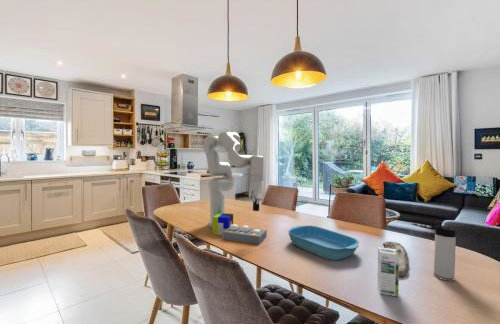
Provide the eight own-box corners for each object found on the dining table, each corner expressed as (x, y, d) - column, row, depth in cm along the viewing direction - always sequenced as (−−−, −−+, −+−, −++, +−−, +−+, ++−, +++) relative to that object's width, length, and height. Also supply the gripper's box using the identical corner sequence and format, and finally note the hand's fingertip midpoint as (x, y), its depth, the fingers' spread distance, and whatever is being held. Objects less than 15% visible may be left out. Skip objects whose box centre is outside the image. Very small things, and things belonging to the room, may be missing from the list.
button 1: (231, 229, 145) (231, 223, 145) (238, 230, 143) (238, 224, 143) (228, 231, 141) (228, 225, 141) (235, 232, 139) (235, 226, 139)
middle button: (242, 231, 142) (242, 225, 142) (249, 231, 141) (249, 225, 141) (239, 233, 138) (239, 227, 138) (247, 234, 137) (247, 228, 137)
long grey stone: (381, 277, 98) (411, 284, 94) (382, 264, 98) (412, 271, 93) (382, 244, 129) (404, 248, 124) (383, 234, 128) (405, 238, 124)
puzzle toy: (228, 234, 145) (228, 217, 145) (212, 233, 147) (212, 217, 147) (233, 229, 155) (233, 213, 155) (218, 228, 157) (218, 213, 157)
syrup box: (379, 294, 84) (380, 252, 83) (377, 285, 89) (377, 246, 89) (398, 297, 82) (399, 254, 81) (395, 288, 87) (395, 248, 87)
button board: (231, 232, 149) (231, 225, 149) (266, 236, 141) (266, 229, 141) (222, 238, 138) (222, 231, 138) (259, 244, 130) (259, 236, 130)
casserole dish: (368, 255, 116) (368, 240, 116) (341, 268, 103) (341, 251, 103) (307, 234, 146) (307, 222, 146) (280, 242, 133) (280, 229, 132)
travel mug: (429, 273, 98) (430, 224, 98) (444, 272, 99) (445, 223, 98) (442, 281, 92) (444, 228, 91) (458, 280, 93) (460, 228, 92)
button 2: (254, 234, 140) (254, 228, 140) (261, 235, 138) (261, 229, 138) (251, 237, 136) (251, 231, 136) (258, 238, 134) (258, 232, 134)
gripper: (254, 176, 144) (254, 207, 145) (245, 179, 130) (244, 213, 131) (266, 176, 142) (266, 208, 142) (258, 179, 128) (258, 214, 128)
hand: (256, 210), depth 137 cm, fingers closed
